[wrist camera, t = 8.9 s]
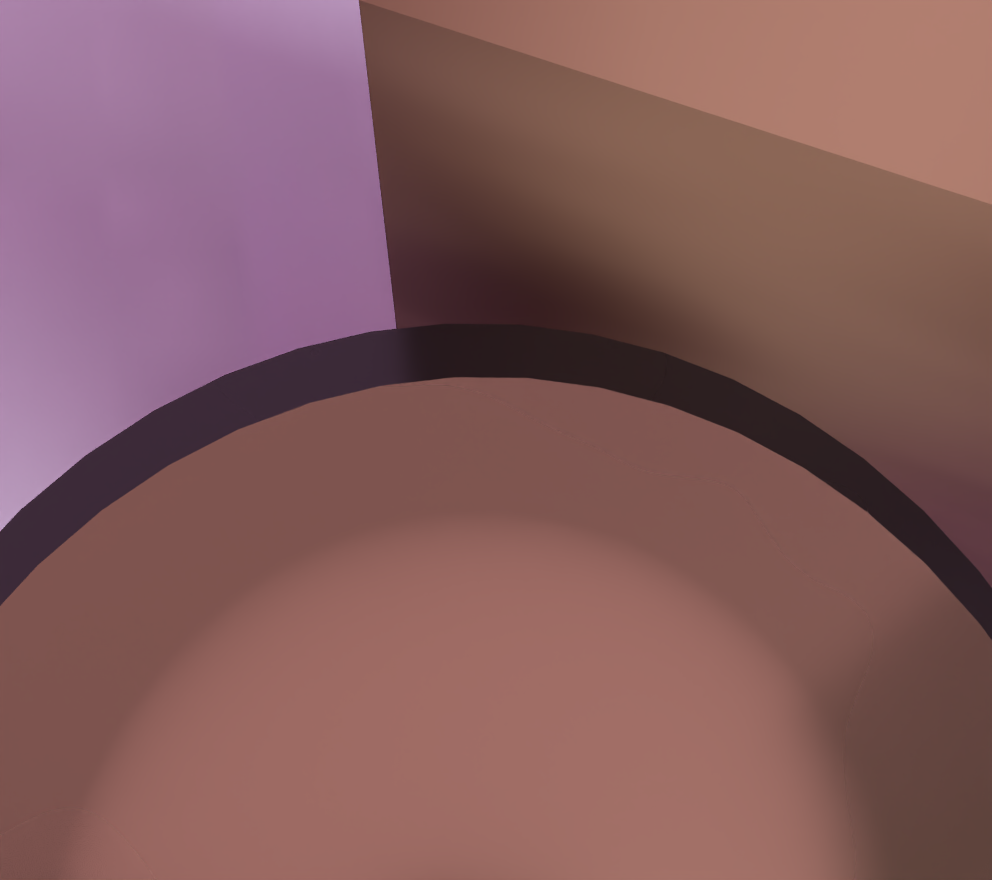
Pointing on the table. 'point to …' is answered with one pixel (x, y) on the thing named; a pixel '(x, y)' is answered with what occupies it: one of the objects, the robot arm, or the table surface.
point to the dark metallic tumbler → (488, 633)
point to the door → (716, 201)
